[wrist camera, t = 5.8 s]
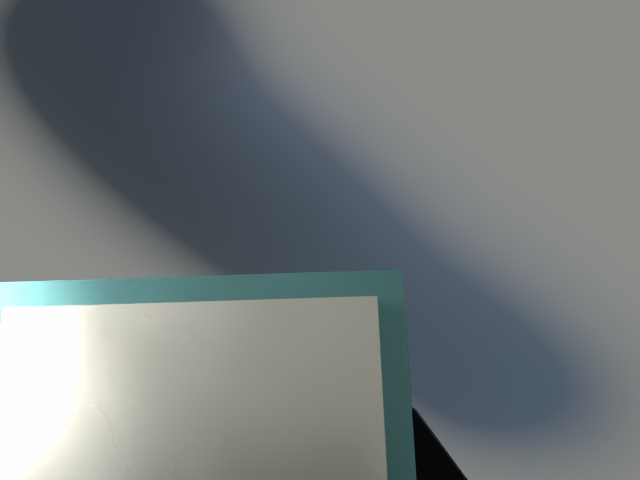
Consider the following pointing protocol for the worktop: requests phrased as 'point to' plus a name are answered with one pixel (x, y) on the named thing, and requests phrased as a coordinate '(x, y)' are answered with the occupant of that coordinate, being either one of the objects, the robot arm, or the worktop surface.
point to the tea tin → (206, 378)
